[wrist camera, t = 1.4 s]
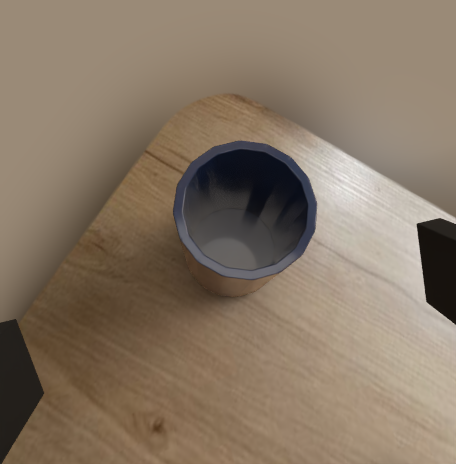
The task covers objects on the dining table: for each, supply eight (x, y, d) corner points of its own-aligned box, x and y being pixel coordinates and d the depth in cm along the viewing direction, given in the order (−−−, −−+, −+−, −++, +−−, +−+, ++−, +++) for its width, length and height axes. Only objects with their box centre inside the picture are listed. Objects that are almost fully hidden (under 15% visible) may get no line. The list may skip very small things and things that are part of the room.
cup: (167, 267, 33) (146, 233, 22) (214, 188, 35) (218, 117, 23) (250, 314, 33) (275, 306, 21) (294, 232, 34) (340, 183, 23)
